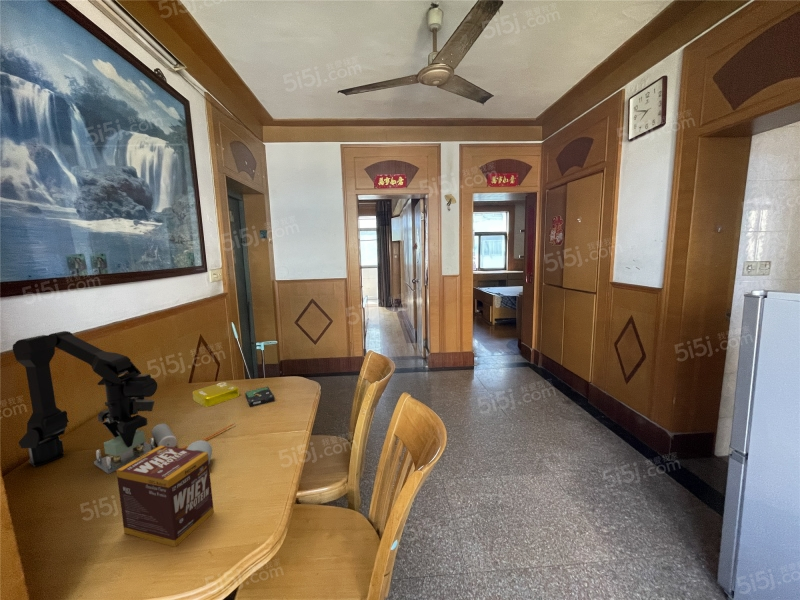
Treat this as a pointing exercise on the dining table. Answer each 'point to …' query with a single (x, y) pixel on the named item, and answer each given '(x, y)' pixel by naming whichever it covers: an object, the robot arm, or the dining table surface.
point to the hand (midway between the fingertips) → (125, 444)
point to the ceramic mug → (201, 447)
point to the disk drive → (259, 396)
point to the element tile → (215, 394)
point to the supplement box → (165, 494)
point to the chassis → (123, 457)
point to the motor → (171, 436)
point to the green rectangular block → (122, 444)
